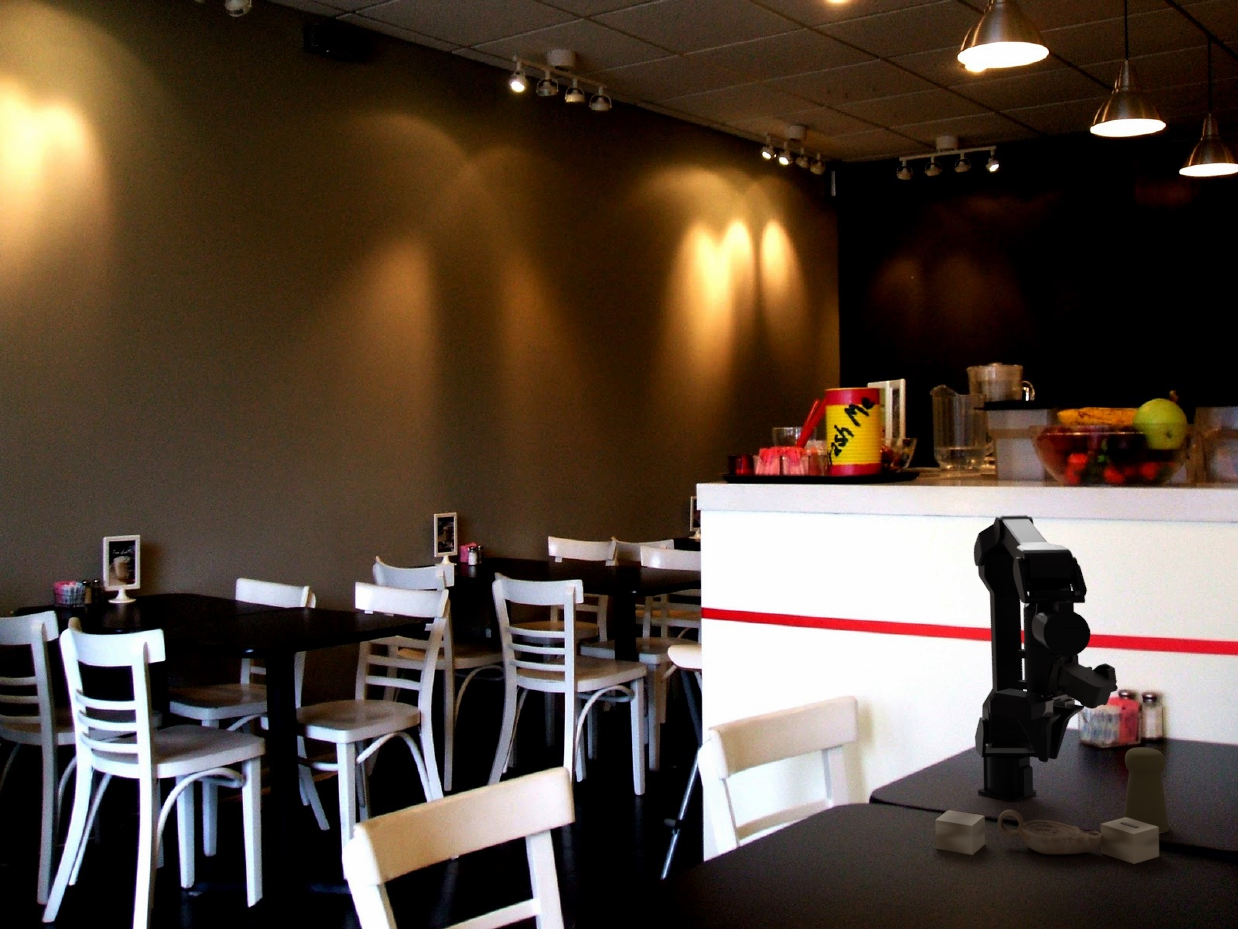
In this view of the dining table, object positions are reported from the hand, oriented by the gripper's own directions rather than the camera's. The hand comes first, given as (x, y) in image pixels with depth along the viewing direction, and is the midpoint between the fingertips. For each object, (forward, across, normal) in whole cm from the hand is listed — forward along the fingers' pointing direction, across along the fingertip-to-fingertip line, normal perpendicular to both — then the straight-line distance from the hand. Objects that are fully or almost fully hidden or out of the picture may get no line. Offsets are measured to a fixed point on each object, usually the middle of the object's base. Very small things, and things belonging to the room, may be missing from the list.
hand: (1048, 760), depth 164 cm
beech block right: (+12, +6, -8) cm, 16 cm away
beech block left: (+12, -7, +9) cm, 17 cm away
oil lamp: (+12, 0, 0) cm, 12 cm away
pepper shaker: (+12, +18, -4) cm, 22 cm away
